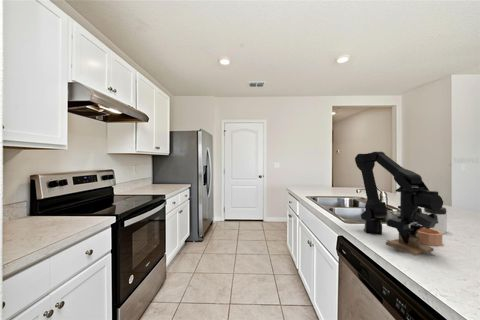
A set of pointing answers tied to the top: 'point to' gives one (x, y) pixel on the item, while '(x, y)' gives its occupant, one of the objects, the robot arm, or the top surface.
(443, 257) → the top surface
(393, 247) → the mat
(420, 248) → the ridged wooden block
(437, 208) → the robot arm
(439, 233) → the bowl
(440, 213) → the jar
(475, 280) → the top surface
